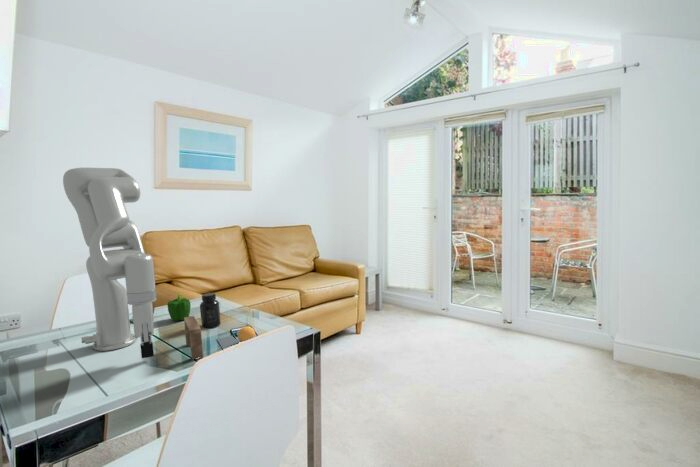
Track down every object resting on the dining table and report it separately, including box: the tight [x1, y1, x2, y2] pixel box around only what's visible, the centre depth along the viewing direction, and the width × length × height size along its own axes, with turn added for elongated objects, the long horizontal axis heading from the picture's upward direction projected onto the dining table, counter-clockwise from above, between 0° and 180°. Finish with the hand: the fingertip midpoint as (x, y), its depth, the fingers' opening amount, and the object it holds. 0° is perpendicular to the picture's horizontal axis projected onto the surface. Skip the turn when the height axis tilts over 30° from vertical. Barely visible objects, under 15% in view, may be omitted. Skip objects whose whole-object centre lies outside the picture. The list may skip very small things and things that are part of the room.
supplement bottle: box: [199, 292, 221, 329], centre depth 146 cm, size 7×7×12 cm
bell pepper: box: [167, 293, 191, 322], centre depth 154 cm, size 8×8×10 cm
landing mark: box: [216, 335, 240, 350], centre depth 130 cm, size 12×12×1 cm
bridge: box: [183, 315, 204, 361], centre depth 122 cm, size 3×14×9 cm, turn 29°
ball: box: [237, 325, 256, 342], centre depth 127 cm, size 6×6×6 cm
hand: (147, 356), depth 116 cm, fingers closed
